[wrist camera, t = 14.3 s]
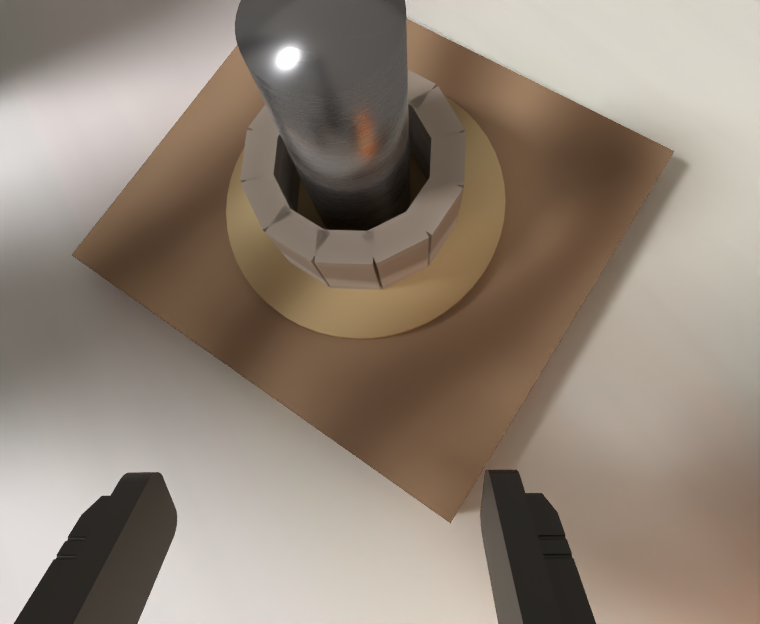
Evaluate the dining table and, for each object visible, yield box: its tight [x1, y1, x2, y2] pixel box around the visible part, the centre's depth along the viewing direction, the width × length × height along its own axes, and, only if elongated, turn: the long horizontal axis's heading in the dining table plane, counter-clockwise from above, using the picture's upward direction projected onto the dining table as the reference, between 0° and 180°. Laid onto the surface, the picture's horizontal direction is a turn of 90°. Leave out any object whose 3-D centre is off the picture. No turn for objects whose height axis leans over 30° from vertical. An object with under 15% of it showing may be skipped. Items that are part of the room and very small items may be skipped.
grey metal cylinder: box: [235, 0, 411, 231], centre depth 16 cm, size 4×4×10 cm
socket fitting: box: [72, 19, 674, 523], centre depth 20 cm, size 20×18×6 cm
